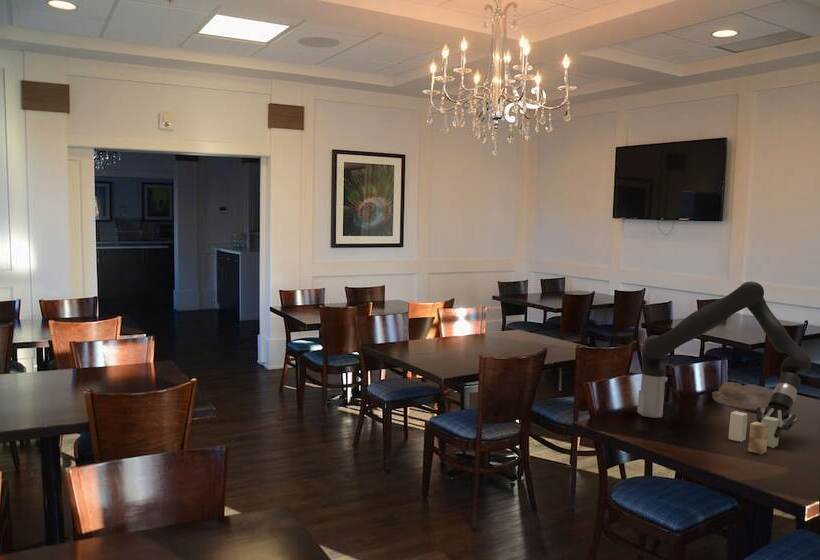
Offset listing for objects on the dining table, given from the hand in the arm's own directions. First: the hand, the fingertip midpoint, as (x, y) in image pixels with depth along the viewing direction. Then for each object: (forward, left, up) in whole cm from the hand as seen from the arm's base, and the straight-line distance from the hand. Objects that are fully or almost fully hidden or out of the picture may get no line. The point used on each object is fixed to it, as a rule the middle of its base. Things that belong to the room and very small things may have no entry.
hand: (768, 435), depth 253 cm
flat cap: (+26, +58, -5) cm, 64 cm away
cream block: (-8, +7, -4) cm, 11 cm away
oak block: (-7, -6, -4) cm, 10 cm away
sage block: (+1, +1, -4) cm, 5 cm away
